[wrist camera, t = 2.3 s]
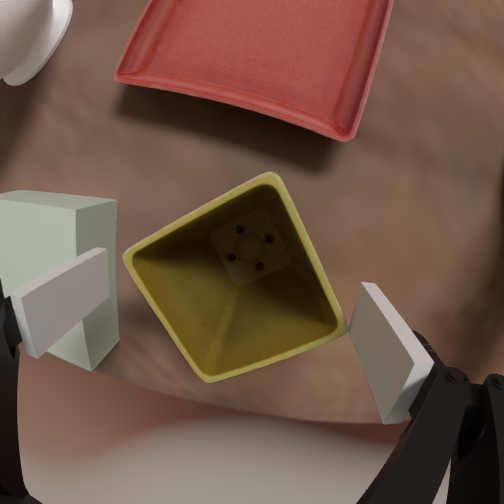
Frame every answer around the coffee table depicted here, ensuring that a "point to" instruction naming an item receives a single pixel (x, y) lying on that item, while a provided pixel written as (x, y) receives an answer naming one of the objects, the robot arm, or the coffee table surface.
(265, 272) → the flower pot
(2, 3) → the decorative vase
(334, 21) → the plant saucer
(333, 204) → the coffee table surface
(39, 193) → the sage block
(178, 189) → the coffee table surface
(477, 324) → the coffee table surface
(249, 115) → the coffee table surface
